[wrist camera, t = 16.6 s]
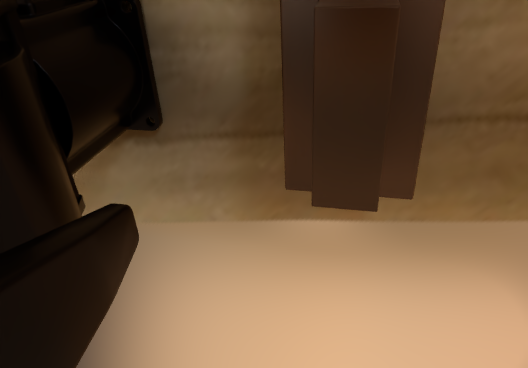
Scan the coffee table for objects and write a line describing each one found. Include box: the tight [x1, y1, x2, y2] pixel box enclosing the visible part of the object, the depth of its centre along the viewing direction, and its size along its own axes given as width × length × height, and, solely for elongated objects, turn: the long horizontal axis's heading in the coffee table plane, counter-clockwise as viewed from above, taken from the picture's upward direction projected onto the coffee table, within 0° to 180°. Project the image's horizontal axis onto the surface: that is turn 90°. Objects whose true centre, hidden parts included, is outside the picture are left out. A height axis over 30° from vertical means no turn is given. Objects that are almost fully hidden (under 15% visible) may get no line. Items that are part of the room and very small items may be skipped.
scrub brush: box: [280, 0, 446, 212], centre depth 16 cm, size 10×6×6 cm, turn 3°
